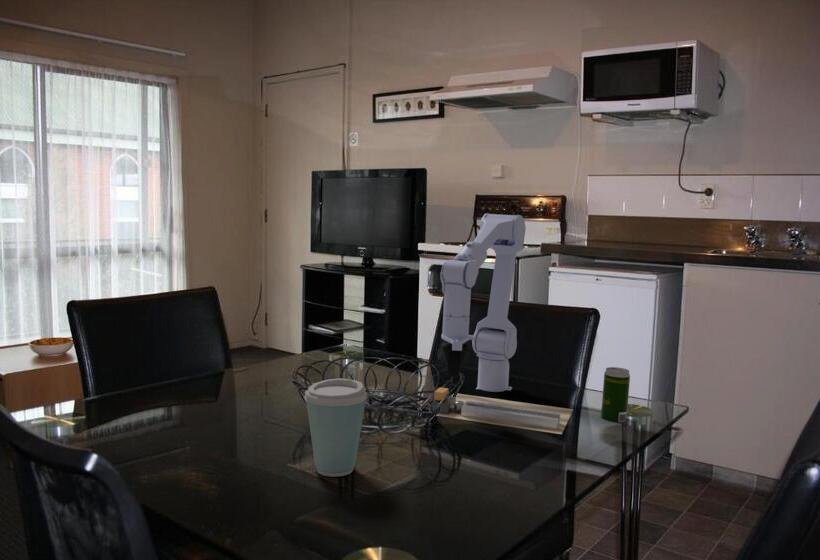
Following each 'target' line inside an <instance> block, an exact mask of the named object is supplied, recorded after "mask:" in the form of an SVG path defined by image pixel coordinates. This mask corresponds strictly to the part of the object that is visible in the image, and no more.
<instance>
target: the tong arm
mask: <svg viewBox="0 0 820 560" xmlns="http://www.w3.org/2000/svg"><path fill="white" fill-rule="evenodd" d="M463 405H468V406H475V407H482V408H489V409H496V410H503V411H510V412H517V413H524V414H531V415H538V416H545V417H552V418H559V419H558V424H559V423H560V416H561V413H558V412H551V411H543V410H535V409H528V408H520V407H513V406H505V405H498V404H490V403H483V402H475V401H468V400H467V401H466V402H463V401H455V402H454V412H457V413H461V408H462V406H463Z"/></svg>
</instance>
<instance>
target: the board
mask: <svg viewBox="0 0 820 560" xmlns="http://www.w3.org/2000/svg"><path fill="white" fill-rule="evenodd" d="M453 395H454V393H453V394H451V395H449V396H450V397H453ZM467 400H468V401H475V402H483V403H490V404H498V405H505V406H513V407H520V408H528V409H535V410H543V411H551V412H558V413H561V416H560V423H559V424H558V429H557V430H553V429H547V428H540V427H533V426H526V425H520V424H513V423H506V422H499V421H492V420H486V419H479V418H472V417H465V416H461V413H457V412H454V410H453V411H452V412H451V413H450V414H449V415H447V414H440V413H438V414H437V415H436V416H437V417H444V418H450V419H456V420H464V421H471V422H477V423H484V424H490V425H495V426H503V427H511V428H517V429H523V430H530V431H536V432H543V433H549V434H550V433H551V434H557V435H563V433H564V430H565V429H566V426H567V424H568V422H569V420H570V418H571V416H572V413H573V411H574V409H572V408H566V407H559V406H551V405H541V404H535V403H528V402H523V401H522V402H521V401H513V400H507V399H500V398H491V397H485V396H478V395H470V394H462V393H457V395H456V401H463V402H466V401H467Z"/></svg>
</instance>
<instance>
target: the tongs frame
mask: <svg viewBox="0 0 820 560" xmlns="http://www.w3.org/2000/svg"><path fill="white" fill-rule="evenodd" d="M450 396H451V395H448V397H447V398H446V399H445V400H444V401H443V402H442V403H441V404H440V411H439V413H440V414H447V415H449V414H450V413H451V412H452V411H453V410H454V402H455V401H456V397H450ZM438 403H440V400H434V399H433V401H432V407H433V406H435V405H437V404H438ZM461 416H465V417H472V418H479V419H486V420H492V421H499V422H506V423H513V424H520V425H526V426H533V427H540V428H547V429H553V430H557V429H558V419H559V418H552V417H545V416H538V415H531V414H524V413H517V412H510V411H503V410H496V409H489V408H482V407H475V406H468V405H463V406H462V408H461Z"/></svg>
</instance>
